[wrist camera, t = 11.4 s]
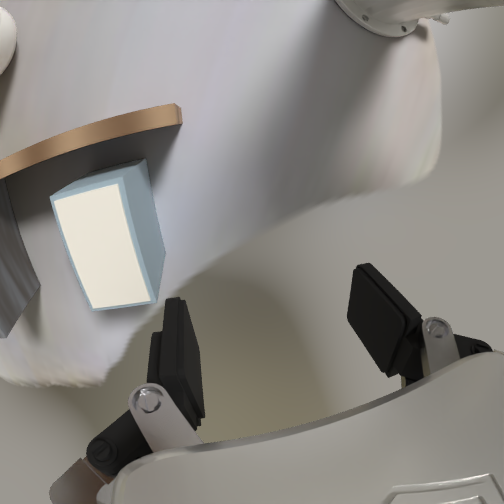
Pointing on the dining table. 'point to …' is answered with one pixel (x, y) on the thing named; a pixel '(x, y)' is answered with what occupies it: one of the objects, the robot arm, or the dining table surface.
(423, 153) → the dining table surface
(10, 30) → the lidded jar
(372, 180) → the dining table surface
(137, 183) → the boxed book
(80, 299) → the dining table surface
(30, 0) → the dining table surface
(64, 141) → the shelf
